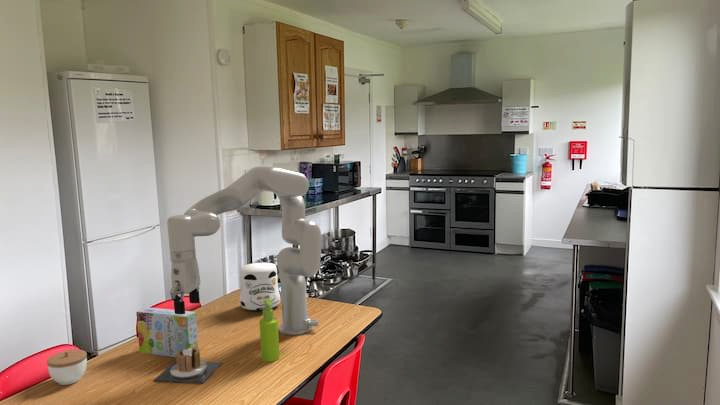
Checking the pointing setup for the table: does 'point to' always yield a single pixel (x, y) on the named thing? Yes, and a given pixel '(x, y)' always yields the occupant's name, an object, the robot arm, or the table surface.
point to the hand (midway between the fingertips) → (187, 308)
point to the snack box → (166, 331)
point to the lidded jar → (67, 366)
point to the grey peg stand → (188, 377)
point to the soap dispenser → (269, 334)
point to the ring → (187, 360)
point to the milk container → (258, 286)
